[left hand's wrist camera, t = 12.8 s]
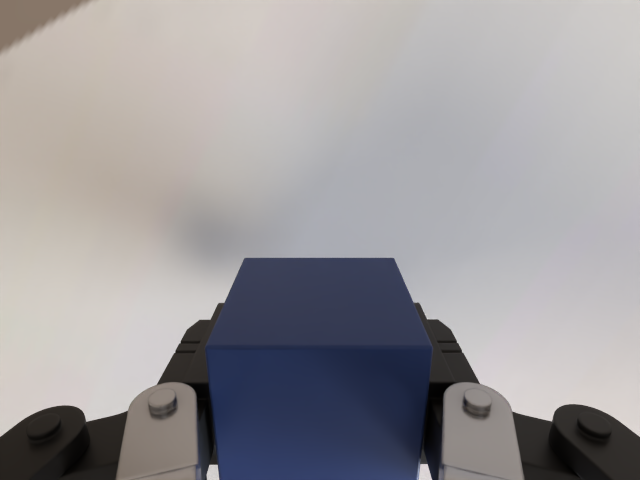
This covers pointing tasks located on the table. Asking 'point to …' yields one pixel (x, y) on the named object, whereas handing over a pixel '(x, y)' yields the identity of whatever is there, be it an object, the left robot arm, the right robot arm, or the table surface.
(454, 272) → the table surface
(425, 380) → the brick
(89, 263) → the table surface
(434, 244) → the table surface
